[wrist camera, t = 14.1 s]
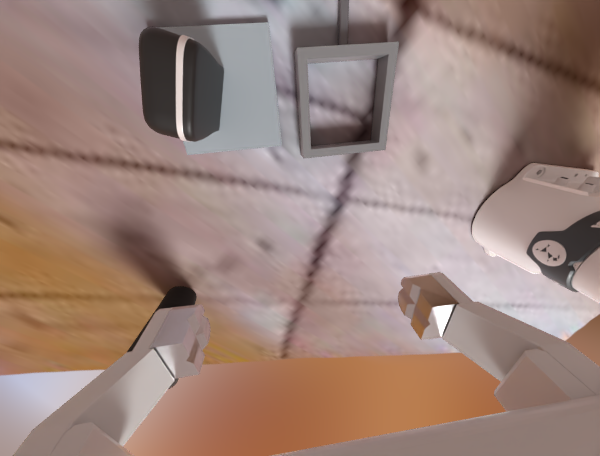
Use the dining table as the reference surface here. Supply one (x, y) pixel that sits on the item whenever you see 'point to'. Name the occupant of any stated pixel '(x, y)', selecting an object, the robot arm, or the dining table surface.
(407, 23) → the dining table surface
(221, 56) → the slate mat
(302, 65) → the charging station
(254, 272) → the dining table surface
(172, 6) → the dining table surface
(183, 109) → the battery charger
